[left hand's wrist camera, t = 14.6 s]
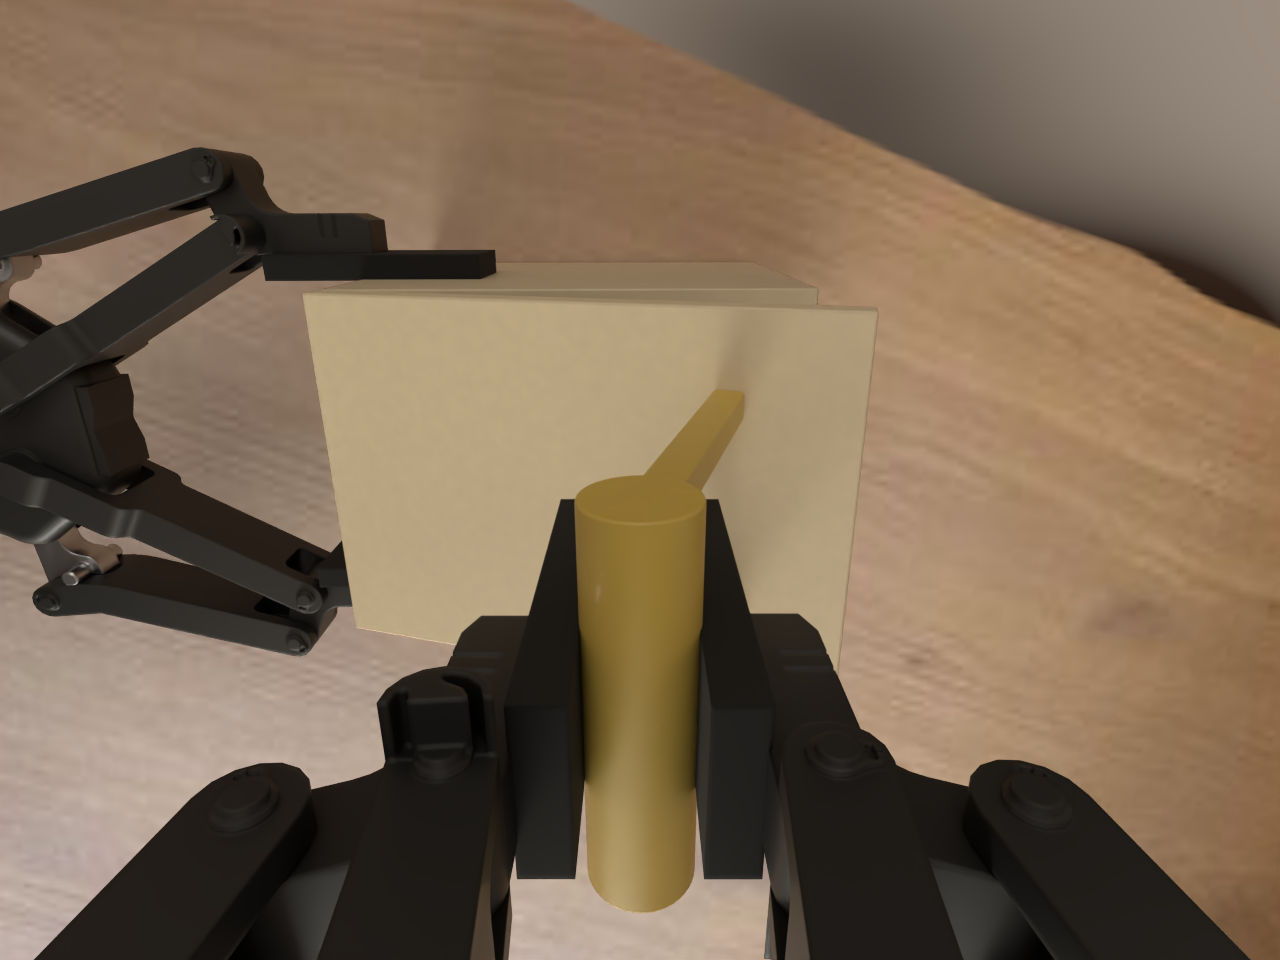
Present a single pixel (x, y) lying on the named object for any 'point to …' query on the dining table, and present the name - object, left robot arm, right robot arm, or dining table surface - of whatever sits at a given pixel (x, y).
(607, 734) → the lid
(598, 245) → the dining table surface
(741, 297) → the chest
